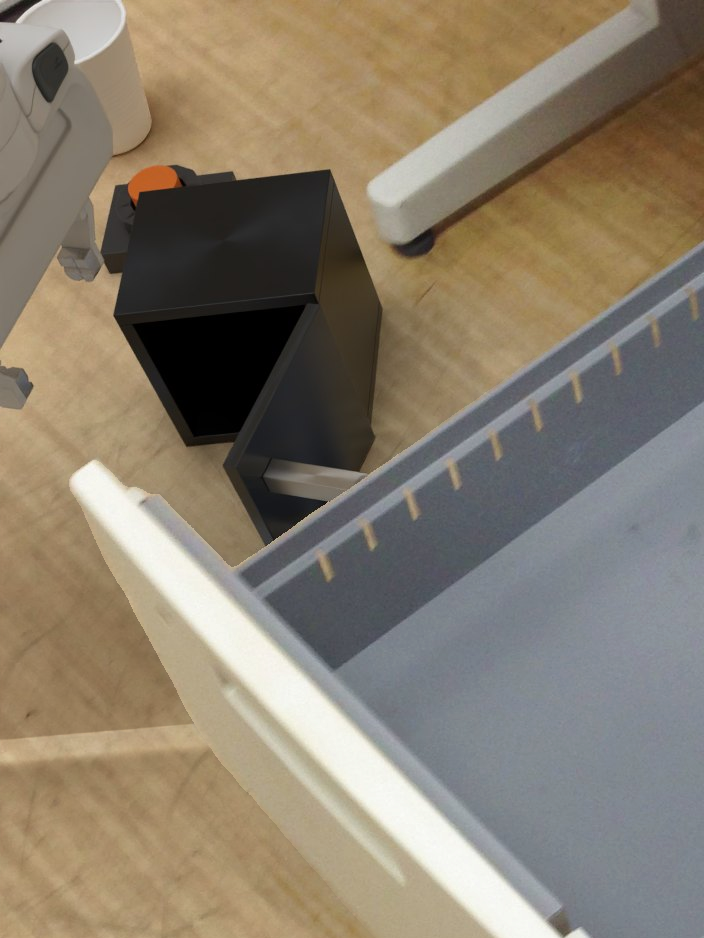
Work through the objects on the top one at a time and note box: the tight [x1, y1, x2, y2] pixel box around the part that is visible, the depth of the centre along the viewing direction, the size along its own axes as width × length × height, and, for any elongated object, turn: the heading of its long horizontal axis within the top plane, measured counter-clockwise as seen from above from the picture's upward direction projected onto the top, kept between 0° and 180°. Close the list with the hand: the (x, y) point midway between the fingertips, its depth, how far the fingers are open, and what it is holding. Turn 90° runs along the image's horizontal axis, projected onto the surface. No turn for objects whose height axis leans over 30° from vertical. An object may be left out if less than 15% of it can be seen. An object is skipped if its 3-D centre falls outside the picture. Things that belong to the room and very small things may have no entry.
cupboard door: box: [222, 303, 376, 547], centre depth 120 cm, size 9×14×14 cm, turn 163°
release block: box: [99, 164, 237, 275], centre depth 144 cm, size 10×8×4 cm
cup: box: [15, 0, 153, 156], centre depth 149 cm, size 10×10×11 cm
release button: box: [128, 164, 182, 206], centre depth 142 cm, size 4×4×2 cm
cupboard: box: [112, 168, 384, 448], centre depth 129 cm, size 12×14×14 cm
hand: (53, 334), depth 99 cm, fingers open, 8 cm apart
